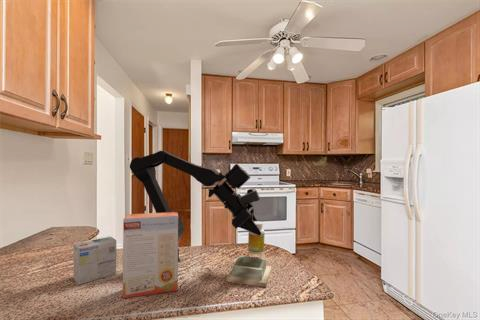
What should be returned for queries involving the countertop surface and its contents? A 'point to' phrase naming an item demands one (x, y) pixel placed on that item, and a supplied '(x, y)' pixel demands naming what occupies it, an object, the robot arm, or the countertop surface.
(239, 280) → the holder
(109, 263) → the light bulb box
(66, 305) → the countertop surface
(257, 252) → the supplement bottle
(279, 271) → the countertop surface
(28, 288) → the countertop surface
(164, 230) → the cracker box
